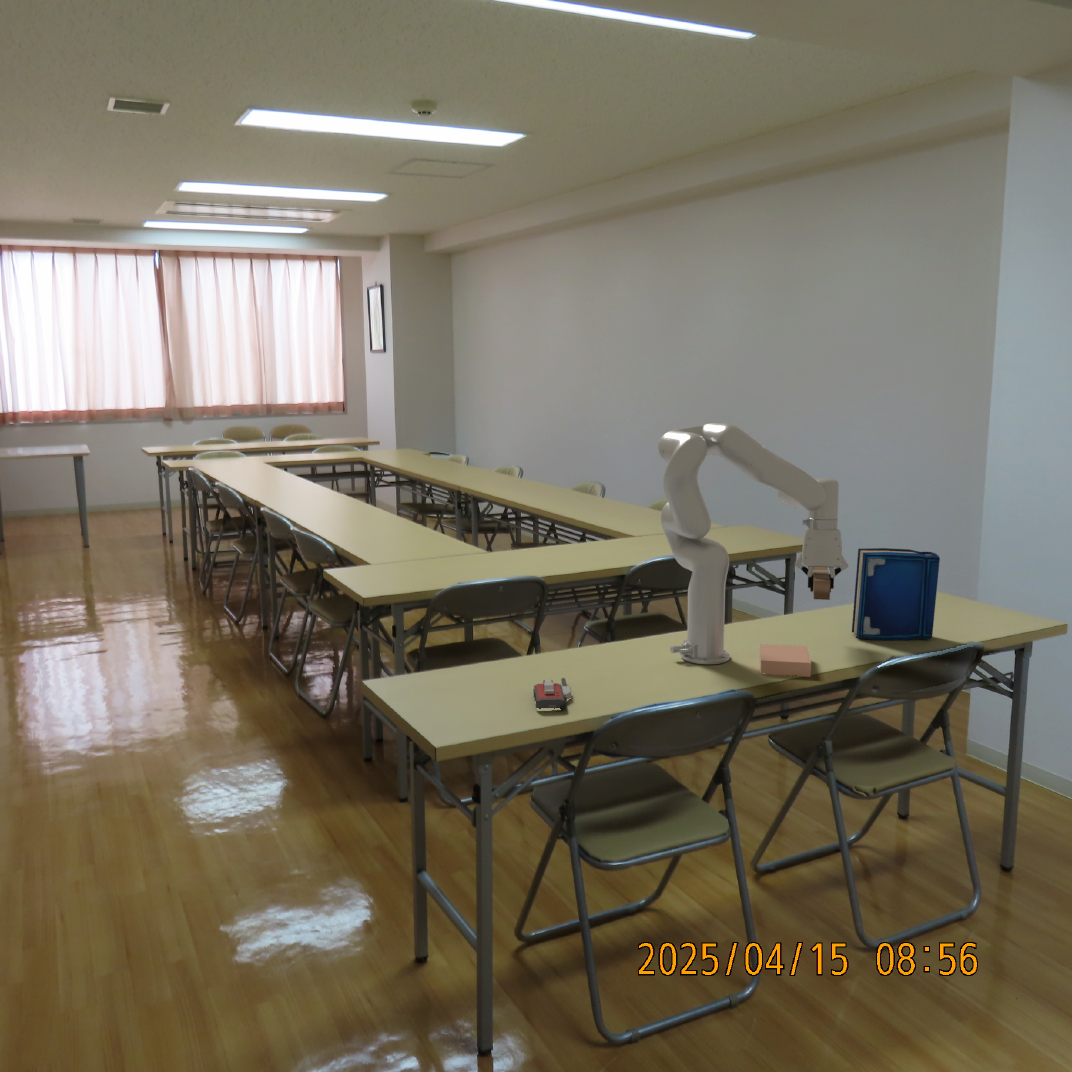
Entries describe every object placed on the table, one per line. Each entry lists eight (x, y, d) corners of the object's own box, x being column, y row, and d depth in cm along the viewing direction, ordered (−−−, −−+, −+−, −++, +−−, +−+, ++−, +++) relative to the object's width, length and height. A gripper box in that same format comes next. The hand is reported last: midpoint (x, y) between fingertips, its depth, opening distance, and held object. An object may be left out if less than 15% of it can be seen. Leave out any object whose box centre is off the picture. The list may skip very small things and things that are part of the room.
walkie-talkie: (575, 713, 207) (567, 684, 226) (575, 695, 206) (567, 666, 225) (536, 715, 206) (531, 685, 226) (535, 696, 205) (531, 667, 225)
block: (829, 599, 242) (830, 581, 241) (813, 599, 243) (814, 580, 242) (826, 584, 259) (827, 566, 258) (811, 583, 260) (812, 566, 260)
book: (929, 634, 262) (934, 547, 258) (937, 641, 255) (943, 552, 251) (850, 633, 264) (854, 547, 260) (856, 640, 257) (861, 552, 253)
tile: (806, 660, 241) (810, 678, 228) (759, 658, 244) (760, 675, 230) (806, 646, 241) (811, 662, 227) (759, 644, 243) (761, 660, 230)
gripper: (790, 526, 246) (788, 593, 250) (856, 527, 242) (853, 595, 245) (790, 521, 254) (788, 586, 257) (854, 522, 249) (851, 588, 253)
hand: (820, 590), depth 251 cm, fingers closed on block, 4 cm apart
